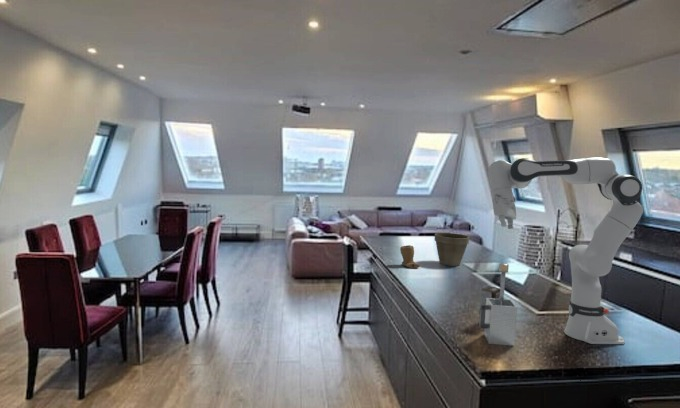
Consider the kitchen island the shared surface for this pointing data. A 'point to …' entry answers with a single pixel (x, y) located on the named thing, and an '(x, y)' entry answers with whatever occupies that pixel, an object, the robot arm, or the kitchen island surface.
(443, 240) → the plant pot
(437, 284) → the kitchen island surface
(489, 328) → the press
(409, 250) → the brown boot
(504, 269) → the plunger
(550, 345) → the kitchen island surface
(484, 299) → the coffee box
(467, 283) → the kitchen island surface
